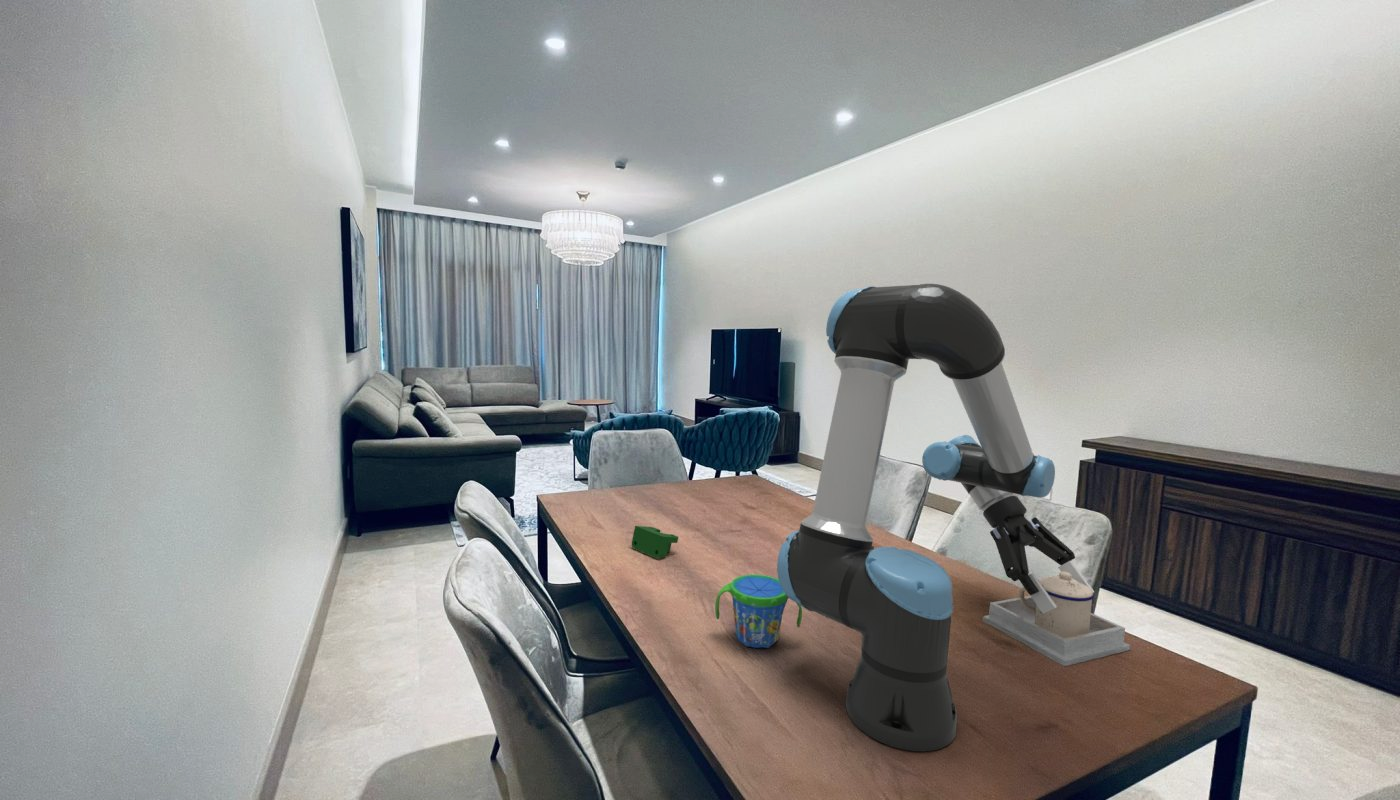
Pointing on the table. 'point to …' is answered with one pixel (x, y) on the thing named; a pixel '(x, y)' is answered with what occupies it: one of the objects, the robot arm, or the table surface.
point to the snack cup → (757, 609)
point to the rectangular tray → (1066, 651)
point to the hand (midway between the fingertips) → (1069, 602)
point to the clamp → (652, 541)
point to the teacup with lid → (1064, 606)
